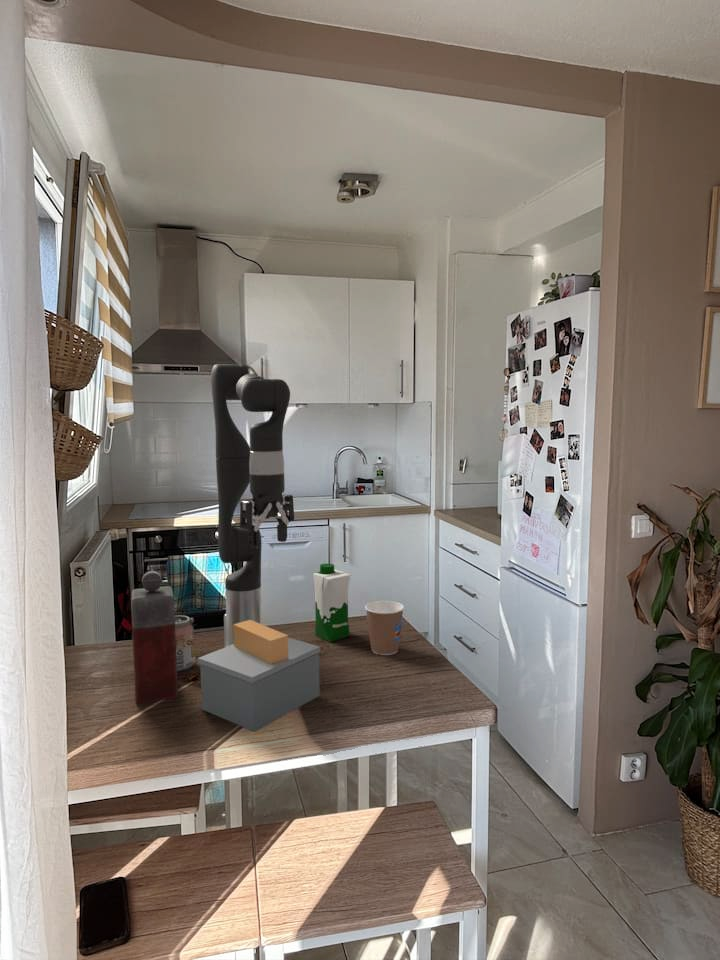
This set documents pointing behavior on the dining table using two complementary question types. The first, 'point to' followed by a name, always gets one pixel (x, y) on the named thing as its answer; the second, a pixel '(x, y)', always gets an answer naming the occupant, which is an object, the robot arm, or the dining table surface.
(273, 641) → the light orange bar
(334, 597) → the milk carton
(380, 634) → the coffee cup
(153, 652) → the decanter
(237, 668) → the lid
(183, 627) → the beverage can
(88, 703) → the dining table surface
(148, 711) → the dining table surface
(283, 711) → the box
